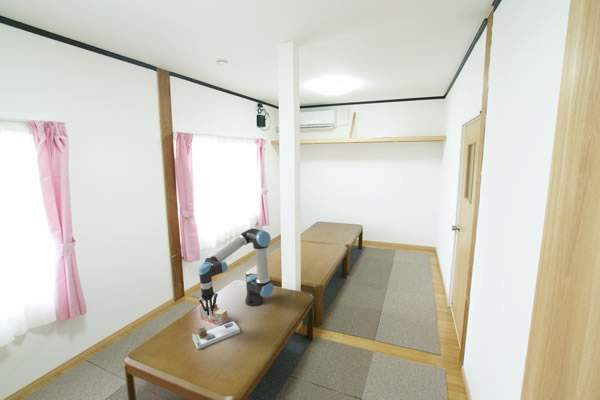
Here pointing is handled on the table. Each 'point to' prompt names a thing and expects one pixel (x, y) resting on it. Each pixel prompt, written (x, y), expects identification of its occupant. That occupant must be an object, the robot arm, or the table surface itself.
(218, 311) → the stack of blocks
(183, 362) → the table surface
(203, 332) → the walnut block
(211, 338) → the box
